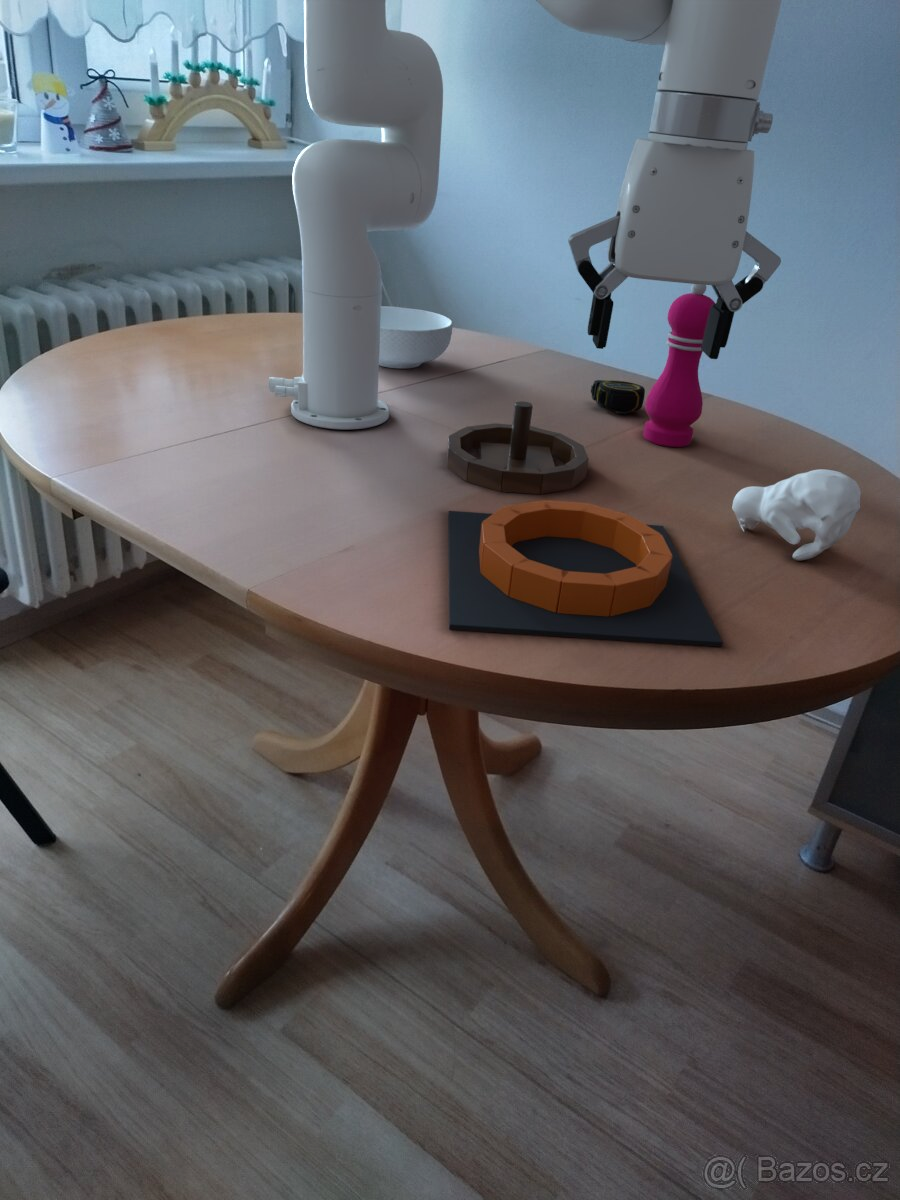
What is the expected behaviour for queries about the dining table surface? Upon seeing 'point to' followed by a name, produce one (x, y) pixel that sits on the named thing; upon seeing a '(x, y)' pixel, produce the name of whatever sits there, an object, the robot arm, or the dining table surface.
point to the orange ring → (568, 587)
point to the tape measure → (618, 395)
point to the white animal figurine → (802, 508)
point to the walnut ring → (510, 476)
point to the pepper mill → (679, 373)
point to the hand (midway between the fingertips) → (653, 349)
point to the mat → (493, 611)
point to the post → (518, 445)
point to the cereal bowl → (412, 336)
